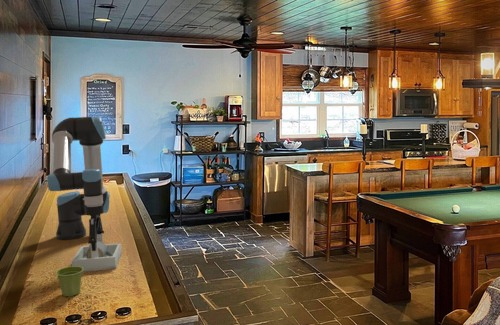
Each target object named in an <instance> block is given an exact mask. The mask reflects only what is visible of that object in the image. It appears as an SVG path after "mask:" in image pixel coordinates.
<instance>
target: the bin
mask: <svg viewBox="0 0 500 325" xmlns="http://www.w3.org/2000/svg"><path fill="white" fill-rule="evenodd" d="M105 245H106V247H107V252H110V253H111V254H112V255H113V256H111V257H110V256H108V255H105V256H106V257H99V258H87V256H86V253H87V250H88V248H89V246H90V245H84V246H83V245H82V246H80V247H79V249H78V250H77V252H76V254H75V255H74V257H73V258H72V259H71V266H79V267H82V268H83V271H82V273H83V272H93V271H95V272H96V271H103V270H106V271H107V270H116V269H117V267H118V265H119V262H120V259H121V256H122V243H111V244H110V243H109V244H108V243H107V244H105Z"/></svg>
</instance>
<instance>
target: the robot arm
mask: <svg viewBox="0 0 500 325" xmlns="http://www.w3.org/2000/svg"><path fill="white" fill-rule="evenodd" d="M105 140H106V131H105V127H104V123H103V118H102V117H100V116H81V117H80V116H79V117H67V118H65V119H63V120H61V121H60V122H59V123H58V124H57V125H55V127H54V128H53V130H52V133H51V142H52V143H53V158H52V159H53V163H52V164H53V165H52V166H53V168H52V173H51V174H47V178H46V180H47V189H48V190H49V191H50V192H62V191H70V192H65V193H61V194H60V195H57V198H56V206H57V217H58V218H57V219H58V220H57V221H58V225H57V228H56V232H55V237H56V239H57V240H75V239H79V238H82V237H85V236H86V235H87V229H86V227H85V224H84V222H83V219H82V216H90V219H88V224H89V226H88V229H89V231H88V232H89V233H88V235H89V236H88V238H89V240H88V242H87V244H88V245H89V246H91V258H98V245H97V241H100V242H103V243H104V236H103V234H104V233H105V231H104V229H103V228H104V227H103V225H102V224H103V222H102V218H101V215H102V214H106V213H108V212H109V210H110V209H109V208H110V192H109V191H107V188H106V187H104V178H103V167H102V153H101V146H102V144H103V143H104V141H105ZM73 141H75V142H76V141H78V142H79V145H80V146H81V147H82V151H83V152H82V154H83V165H84V170H82V171H80V172H78V171H77V172H72V153H71V152H72V151H71V150H72V143H73ZM71 190H72V191H71ZM73 190H75V191H73ZM79 190H83V193H80V191H79Z"/></svg>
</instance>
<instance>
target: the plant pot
mask: <svg viewBox="0 0 500 325" xmlns="http://www.w3.org/2000/svg"><path fill="white" fill-rule="evenodd" d="M82 271H83V268H82V267H79V266H72V265H71V266H67V267H66V266H65V267H62V268H60V269H58V270H56V271H55V275H56V276H57V278H58V281H59V286H60V290H61V295H62V296H63V297H66V296H68V297H73V296H75V295H79V294H80V293H81V289H82V288H81V286H82V285H81V284H82V275H83V272H84V271H83V272H82Z"/></svg>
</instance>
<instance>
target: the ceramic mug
mask: <svg viewBox="0 0 500 325" xmlns="http://www.w3.org/2000/svg"><path fill="white" fill-rule="evenodd" d="M97 245H98V258H99V257H106V256H105V255H108V256H110V257H111V256H113V255H112V254H111V253H110V252H107V247H106V245H107V244H106V243H104V241H103V242H100V241H97ZM88 246H89V248H88V250H87V253H86V256H87V258H91V246H90V245H88Z"/></svg>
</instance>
